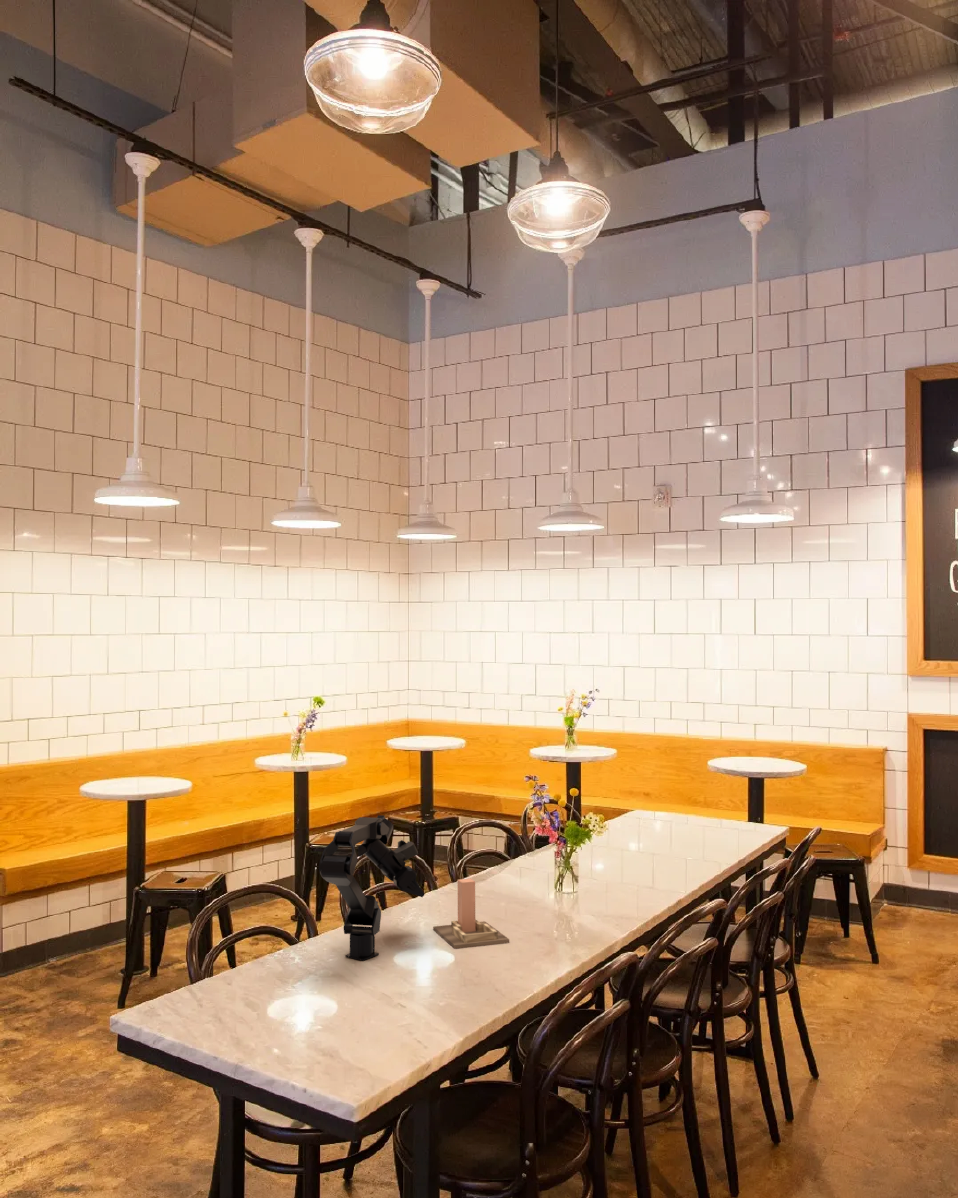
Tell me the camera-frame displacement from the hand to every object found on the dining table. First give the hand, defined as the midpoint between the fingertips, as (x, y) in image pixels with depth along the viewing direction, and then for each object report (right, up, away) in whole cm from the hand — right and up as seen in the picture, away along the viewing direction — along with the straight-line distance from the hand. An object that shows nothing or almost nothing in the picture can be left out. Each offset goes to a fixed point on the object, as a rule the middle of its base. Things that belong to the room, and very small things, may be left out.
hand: (419, 892), depth 282 cm
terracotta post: (+13, -13, +6) cm, 19 cm away
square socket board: (+14, -14, +4) cm, 20 cm away
